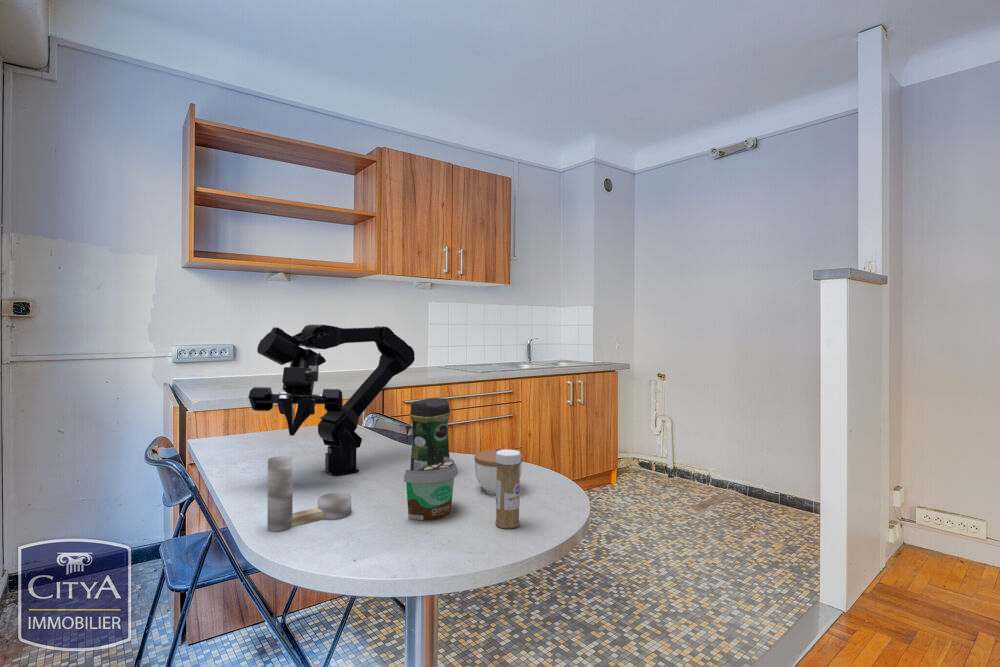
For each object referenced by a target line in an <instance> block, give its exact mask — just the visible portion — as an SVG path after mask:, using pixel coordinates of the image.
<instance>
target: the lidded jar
mask: <svg viewBox="0 0 1000 667" xmlns="http://www.w3.org/2000/svg"><path fill="white" fill-rule="evenodd" d="M499 450H502V447H496V449H488V450H482V451H478V452H477V453H475V454H474V460H473V461H474V470H475V471H474V472H475V477H476V480H477V483H478V484H479V486H481V487H482V488H483V490H484V492H485V491H486V492H485V493H487V492H488V494H490V493H491V494H490V495H496V478H497V464H496V452H497V451H499ZM523 461H524V456H523V455H522V454H521V462H520V474H519V475H520V476H519V477H520V478H521V477H522V476H521V475H522V472H523Z"/></svg>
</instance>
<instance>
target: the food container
mask: <svg viewBox="0 0 1000 667" xmlns="http://www.w3.org/2000/svg"><path fill="white" fill-rule="evenodd" d="M458 473H459V472H458V467H457V463H456V461H455V460H454V459H453V458H448V457H444V461H443V462H440V463H438V464H434V465H427V466H425V467H423V468H421V469H419V470H417V471H412V470H410V469H405V473H404V476H403V482H405V483H406V486H405V487H406V499H407V511H408V512H407V513H408V517H407V518H408V519H409V520H413V521H421V522H422V521H423V522H424V521H435V520H439V519H440V520H441V519H443V518H446V517H448V516H449V515H450V514H451V512H452V504H453V493H454V483H455V477H457V476H458Z"/></svg>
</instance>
